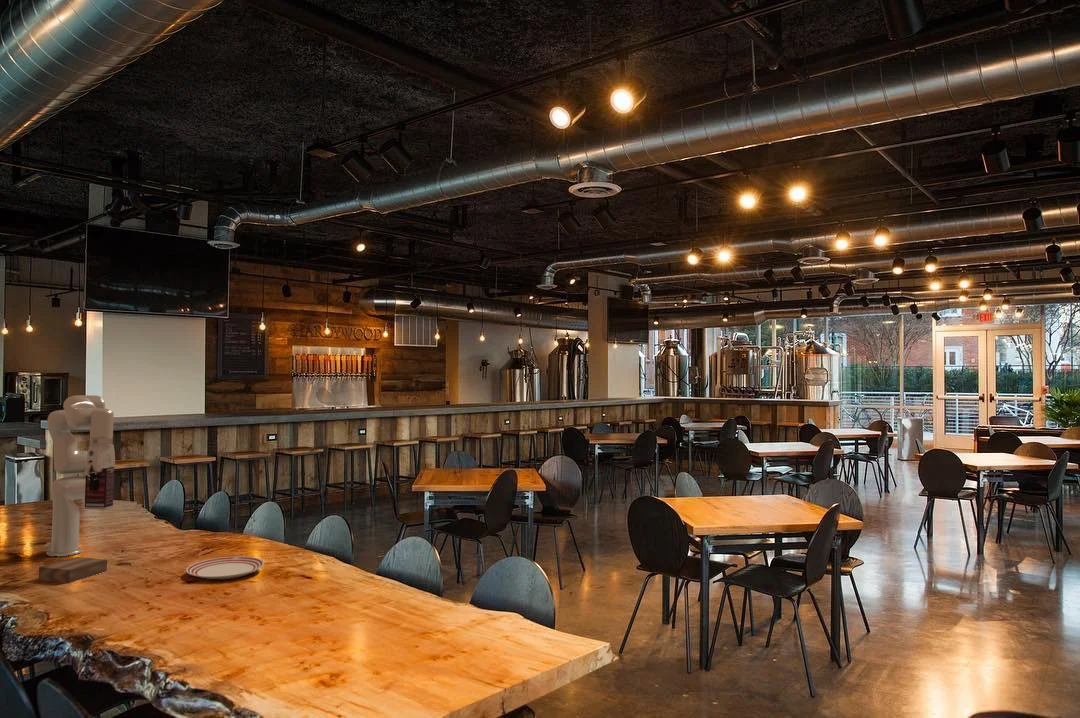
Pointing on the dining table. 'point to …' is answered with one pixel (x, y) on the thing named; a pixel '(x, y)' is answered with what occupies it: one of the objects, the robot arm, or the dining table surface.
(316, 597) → the dining table surface
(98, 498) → the supplement box
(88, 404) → the robot arm
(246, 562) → the dinner plate
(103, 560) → the walnut block
